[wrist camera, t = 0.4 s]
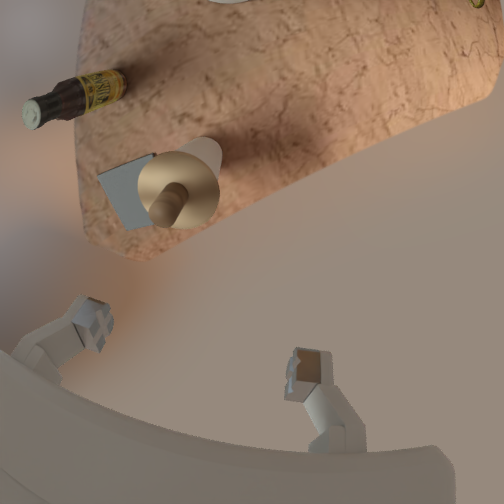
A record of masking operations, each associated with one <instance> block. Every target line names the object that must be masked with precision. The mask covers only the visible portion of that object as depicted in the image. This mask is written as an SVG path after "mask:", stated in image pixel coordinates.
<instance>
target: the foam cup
mask: <svg viewBox="0 0 504 504" xmlns="http://www.w3.org/2000/svg"><path fill="white" fill-rule="evenodd" d="M175 151H180V152H185V153H189V154H191V155H194V156H196V157H197V158H199V159H201V160H202V161H203V162H204V163H206V164H207V165H208V166H209V168H210V169H211V170H212V171H213V173H214V175H215V177H216V179H217V181H218V177H219V172H220V167H221V162H222V150H221V148H220V145H219V144H218V143H217V142H216V141H214V140H213V139H211V138H208V137H198V138H195V139H193V140H192V141H190V142H188V143H186V144H185V145H183V146H181V147H180V148H178V149H177V150H175Z"/></svg>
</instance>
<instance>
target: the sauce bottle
mask: <svg viewBox="0 0 504 504" xmlns="http://www.w3.org/2000/svg"><path fill="white" fill-rule="evenodd" d="M126 87H127V82H126V78H125V76H124V75H123V74H122V73H121V72H120V71H117V70H104V71H99V72H94V73H89V74H85V75H81V76H77V77H74V78H71V79H68V80H65V81H62V82H59V83H58V84H57V85H56V86H55V88H54V89H53V91H52V92H50V93H48V94H46V95H43V96H40V97H34V98H32V99H29V100H28V101H27V102H26V103H25V104H24V106H23V109H22V119H23V122H24V124H25V126H26V127H27V128H29V129H31V130H35V129H36V128H39V127H41V126H42V125H44V123H46V122H48V121H50V120H53V119H57V120H66V121H68V120H71V119H73V118H75V117H78V116H82V115H84V114H86V113H89V112H91V111H93V110H96V109H98V108H101V107H103V106H106V105H109V104H111V103H114V102H115V101H117V100H119V99H120V98H121V97H122V96H123V95H124V93H125V91H126Z"/></svg>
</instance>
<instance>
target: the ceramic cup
mask: <svg viewBox="0 0 504 504" xmlns="http://www.w3.org/2000/svg"><path fill="white" fill-rule="evenodd" d="M469 1H470V3H471V5H472V6H473V7H475V8H481V7H482V6H483V5H484V1H485V0H478V4H477V5H476V6H475V5H474V3H473V1H472V0H469Z"/></svg>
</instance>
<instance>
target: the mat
mask: <svg viewBox="0 0 504 504" xmlns="http://www.w3.org/2000/svg"><path fill="white" fill-rule="evenodd" d="M152 158H154V154H153V153H152V154H149V155H146V156H144V157H141V158H138V159H136V160H133V161H131V162H128V163H126V164H123V165H121V166H118V167H116V168H113V169H111V170H108V171H106V172H104V173H101V174H99V175H98V176H97V177H98V179H99V181H100V183H101V185H102V187H103V189H104V191H105V193H106V194H107V196H108V198H109V200H110V202H111V204H112V205H113V207H114V209H115V211H116V213H117V214H118V216H119V218H120V220H121V221H122V223H123V225H124V227H125V228H126V230H127V231H128V230H132V229H137V228H141V227H145V226H149V225H154V223H153V222H152V221H151V219H150V218H149V214H148V212H147V210H146V209H145V208H144V206H143V204H142V202H141V200H140V197H139V194H138V179H139V175H140V173H141V171H142V169H143V167H144V166H145V165H146V164H147V163H148V162H149V161H150V160H151V159H152Z"/></svg>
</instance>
